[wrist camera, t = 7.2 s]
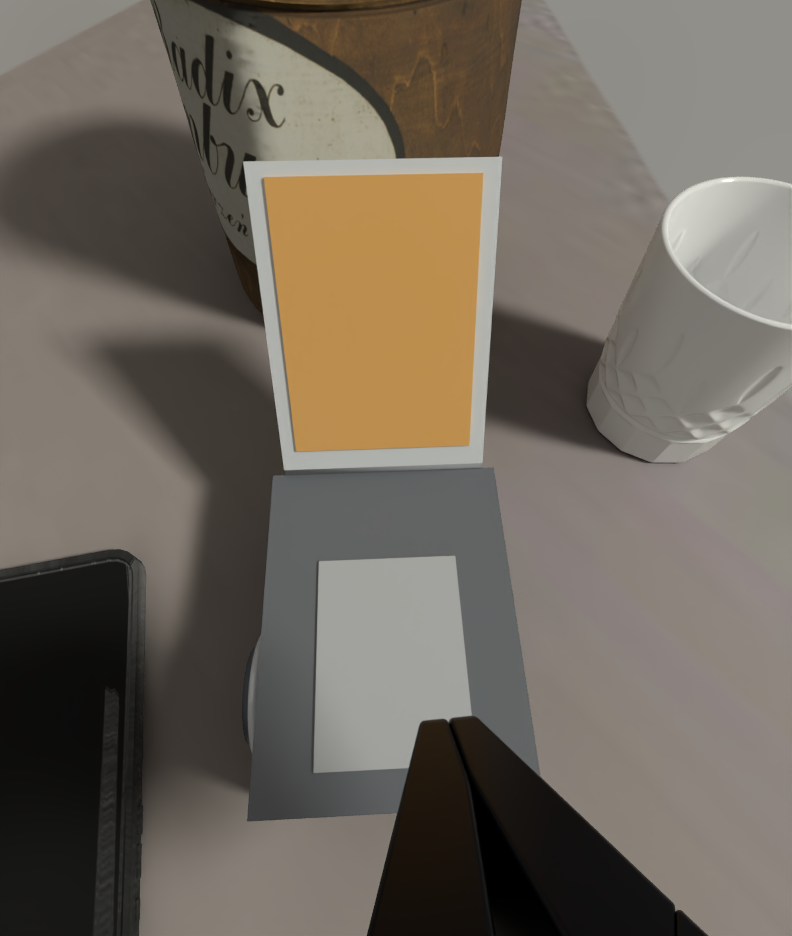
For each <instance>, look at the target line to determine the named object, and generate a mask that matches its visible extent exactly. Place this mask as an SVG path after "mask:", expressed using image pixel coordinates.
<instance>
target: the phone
mask: <svg viewBox="0 0 792 936" xmlns="http://www.w3.org/2000/svg"><path fill="white" fill-rule="evenodd" d="M145 606H146V572H145V567H144V565H143V564H142V562H141V561H140V560H139V559H137V558H136V557H134V556H133V555H132V554H130V553H129V552H127V551H124V550H120V549H117V550H107V551H102V552H96V553H91V554H86V555H80V556H75V557H70V558H64V559H59V560H53V561H48V562H43V563H37V564H32V565H26V566H21V567H16V568H10V569H5V570H0V936H139V919H140V878H141V848H142V844H141V834H142V824H143V806H142V756H143V706H144V656H145Z"/></svg>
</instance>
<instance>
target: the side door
mask: <svg viewBox="0 0 792 936" xmlns="http://www.w3.org/2000/svg"><path fill="white" fill-rule="evenodd" d="M243 165H244V172H245V180H246V187H247V195H248V202H249V210H250V217H251V225H252V232H253V240H254V247H255V255H256V262H257V270H258V277H259V285H260V292H261V300H262V308H263V315H264V323H265V330H266V338H267V345H268V353H269V360H270V368H271V375H272V383H273V390H274V398H275V405H276V413H277V420H278V428H279V435H280V443H281V450H282V458H283V466H284V472H285V475H304V474H332V473H359V472H387V471H415V470H442V469H470V468H482V461H483V446H484V430H485V415H486V399H487V384H488V369H489V353H490V338H491V323H492V307H493V292H494V276H495V261H496V246H497V230H498V215H499V199H500V184H501V169H502V157H463V158H409V159H355V160H300V161H246V162H243Z"/></svg>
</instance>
